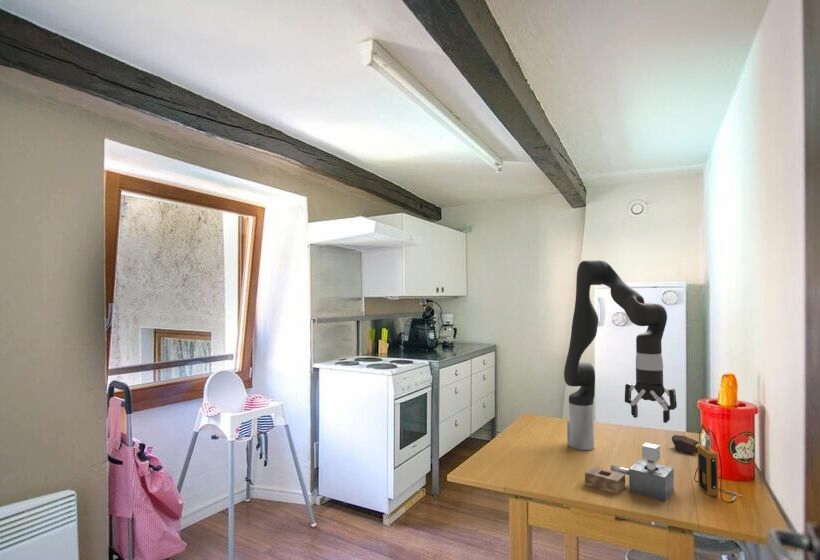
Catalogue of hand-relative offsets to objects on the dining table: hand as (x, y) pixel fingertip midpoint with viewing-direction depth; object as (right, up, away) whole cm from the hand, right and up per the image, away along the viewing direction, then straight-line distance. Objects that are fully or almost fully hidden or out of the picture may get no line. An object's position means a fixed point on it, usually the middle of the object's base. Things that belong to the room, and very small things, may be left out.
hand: (650, 419), depth 141 cm
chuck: (-2, -22, +2) cm, 22 cm away
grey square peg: (0, -20, 0) cm, 20 cm away
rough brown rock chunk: (+32, -23, +34) cm, 52 cm away
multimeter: (+21, -22, -2) cm, 30 cm away
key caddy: (-13, -22, +3) cm, 26 cm away
